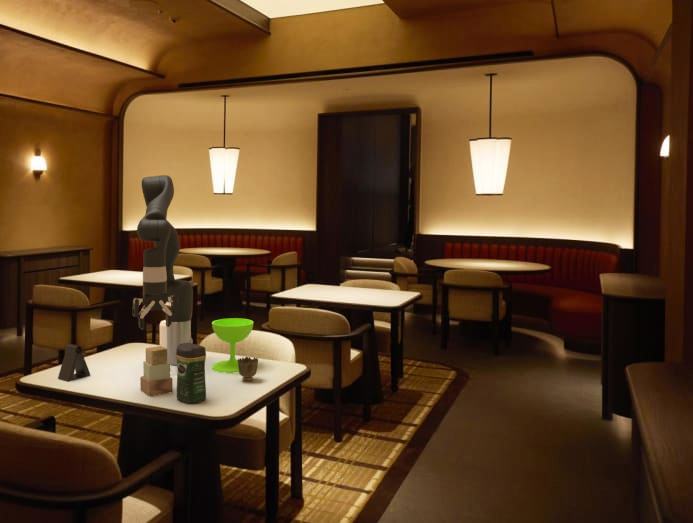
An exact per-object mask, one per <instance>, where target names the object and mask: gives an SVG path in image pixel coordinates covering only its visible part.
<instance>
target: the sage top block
mask: <svg viewBox="0 0 693 523" xmlns="http://www.w3.org/2000/svg"><path fill="white" fill-rule="evenodd" d="M142 362H143V363H142V364H143V376H144V377H145V378H146V379H147V380H148V381H155V380H162V379H169V378H170V377H171V364H170V363H169V362H167V364H162V365H155V366H151V365H149V364H147V363H146V360H145V361H142Z"/></svg>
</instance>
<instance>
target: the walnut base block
mask: <svg viewBox="0 0 693 523" xmlns="http://www.w3.org/2000/svg"><path fill="white" fill-rule="evenodd" d="M139 378H140V379H139V380H140V385H139V386H140V387H139V388H140V391H141V392H142V393H143V392H144V394H145V395H146V394H147V395H146V396H148V397H149V396H150V397H155V396H159V394H160V395H165V394H170V393H169V392H171V393H173V391H174V390H173V386H174V385H173V383H174V382H173V377H171V376H170V378H169V379H162V380H155V381H148V380H147V379H146V378H145V377H144V375H143V376H140V377H139ZM164 393H165V394H164ZM154 395H155V396H154Z"/></svg>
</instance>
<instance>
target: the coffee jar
mask: <svg viewBox="0 0 693 523" xmlns="http://www.w3.org/2000/svg"><path fill="white" fill-rule="evenodd" d="M176 358H177V365H176V366H177V368H176V372H177V374H176V377H177V378H176V394H175V395H176V396H175V397H176V399H177V400H178V401H180V402H183V403H186V404H194V403H196V402H198V403H201V402H202V401H205V400H206V399H207V387H206V385H207V384H206V369H205V368H206V358H207V350H206V347H205V346H204V345H199V344H195V343H193V344H192V343H190V342H189V343H182V344H179V346H178V347H177V351H176ZM200 401H201V402H200ZM196 404H197V403H196Z"/></svg>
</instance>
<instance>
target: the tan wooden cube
mask: <svg viewBox="0 0 693 523" xmlns="http://www.w3.org/2000/svg"><path fill="white" fill-rule="evenodd" d="M145 361H146V363H147V364H149V365H151V366H155V365H162V364H167V349H166V348H164V347H162V346H160V345H158V346H151V347H146V348H145Z"/></svg>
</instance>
